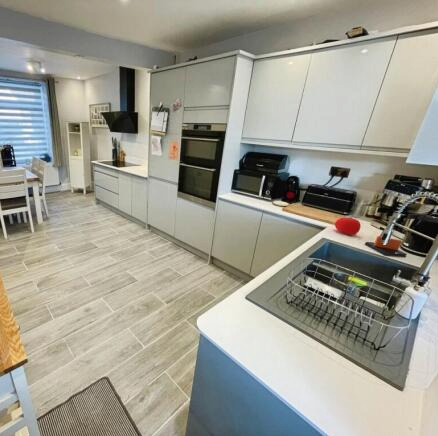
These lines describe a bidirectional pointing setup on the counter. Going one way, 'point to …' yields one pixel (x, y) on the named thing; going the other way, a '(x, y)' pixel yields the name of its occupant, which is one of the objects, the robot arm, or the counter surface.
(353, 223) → the tomato
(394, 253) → the dark grey square plate
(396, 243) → the orange rectangular block
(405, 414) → the counter surface
